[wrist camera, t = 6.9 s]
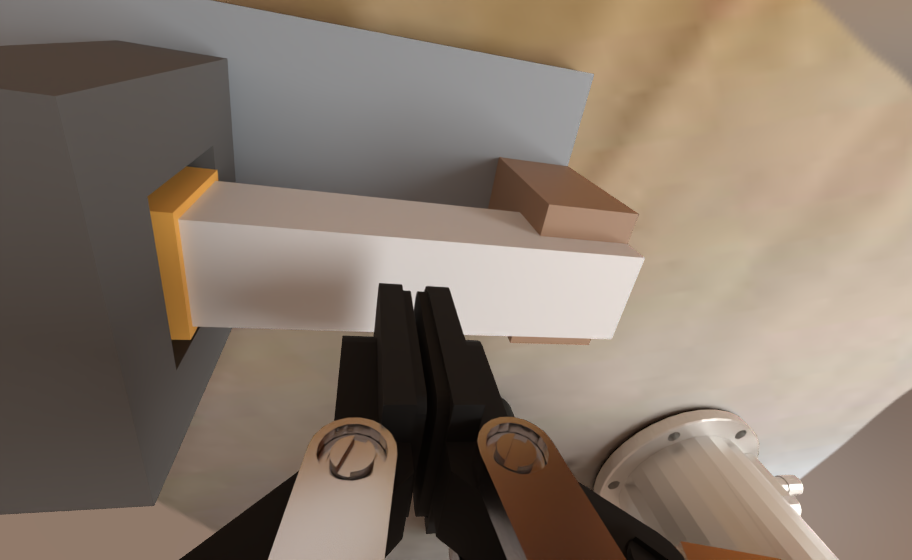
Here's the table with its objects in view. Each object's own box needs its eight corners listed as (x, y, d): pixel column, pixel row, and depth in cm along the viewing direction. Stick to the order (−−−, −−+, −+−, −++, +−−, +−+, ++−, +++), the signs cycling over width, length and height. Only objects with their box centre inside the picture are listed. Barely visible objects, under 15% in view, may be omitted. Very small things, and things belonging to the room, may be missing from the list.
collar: (227, 58, 14) (55, 95, 6) (243, 301, 18) (154, 506, 10) (117, 40, 13) (-238, 57, 5) (160, 297, 17) (-3, 514, 10)
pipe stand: (577, 70, 18) (718, 98, 11) (510, 316, 23) (574, 440, 16) (-32, -47, 13) (-499, -136, 6) (67, 297, 19) (-114, 462, 12)
